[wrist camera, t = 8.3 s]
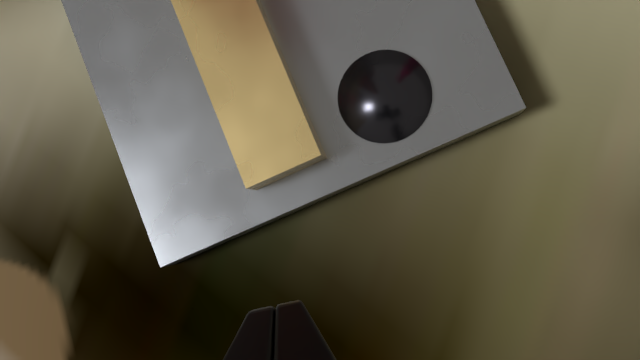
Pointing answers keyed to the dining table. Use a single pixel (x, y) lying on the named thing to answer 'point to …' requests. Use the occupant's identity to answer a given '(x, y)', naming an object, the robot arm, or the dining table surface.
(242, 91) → the bolt plate
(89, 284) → the dining table surface
